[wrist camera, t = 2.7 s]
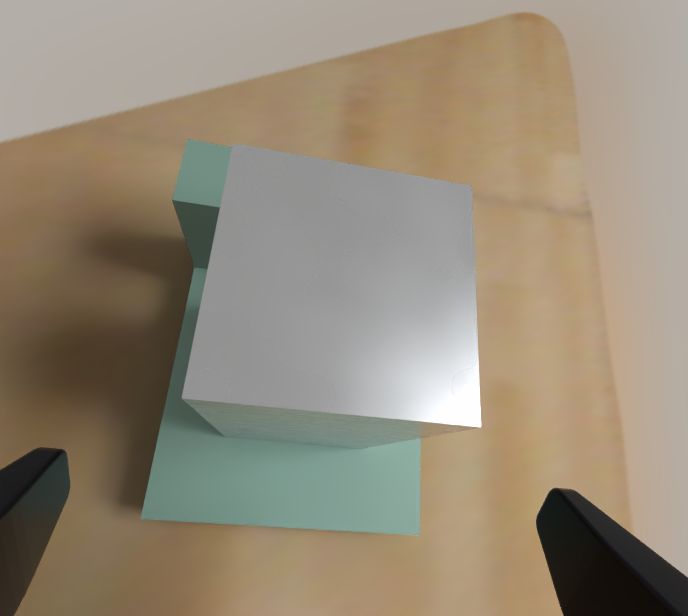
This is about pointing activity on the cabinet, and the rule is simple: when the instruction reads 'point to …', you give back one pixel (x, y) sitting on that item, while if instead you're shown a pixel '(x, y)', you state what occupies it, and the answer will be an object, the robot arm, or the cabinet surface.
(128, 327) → the cabinet surface
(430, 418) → the gray upright column
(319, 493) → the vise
